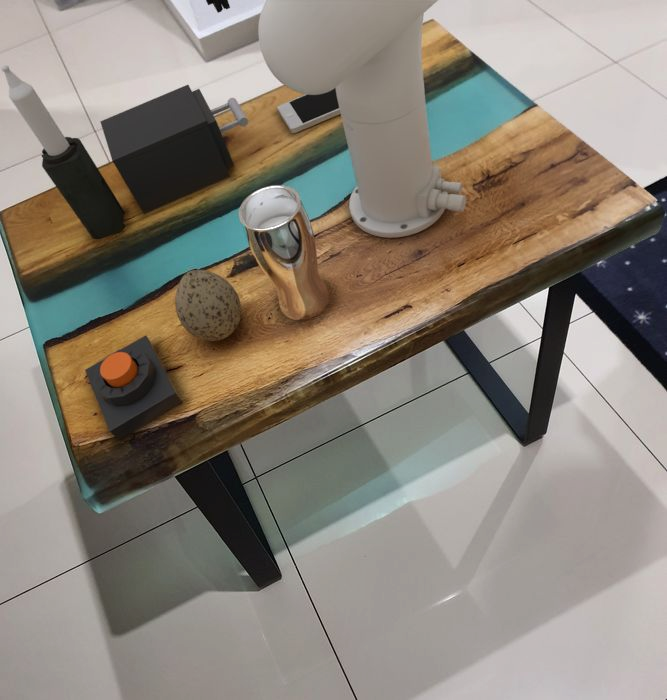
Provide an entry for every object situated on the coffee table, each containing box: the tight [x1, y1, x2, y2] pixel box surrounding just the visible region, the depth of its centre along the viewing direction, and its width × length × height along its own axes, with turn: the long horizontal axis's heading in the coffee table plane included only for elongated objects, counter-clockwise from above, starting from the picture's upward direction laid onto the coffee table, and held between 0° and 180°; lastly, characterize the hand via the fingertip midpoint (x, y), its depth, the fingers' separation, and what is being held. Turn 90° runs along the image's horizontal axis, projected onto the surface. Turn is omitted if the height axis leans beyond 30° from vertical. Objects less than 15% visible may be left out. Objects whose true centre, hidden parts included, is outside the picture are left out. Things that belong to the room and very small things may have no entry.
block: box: [84, 335, 184, 441], centre depth 73 cm, size 10×8×4 cm
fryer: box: [100, 84, 231, 215], centre depth 93 cm, size 14×11×10 cm
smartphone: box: [277, 88, 341, 134], centre depth 99 cm, size 7×15×1 cm, turn 111°
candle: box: [0, 63, 126, 240], centre depth 84 cm, size 5×5×25 cm
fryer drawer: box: [192, 88, 249, 170], centre depth 94 cm, size 17×9×8 cm, turn 112°
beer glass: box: [238, 184, 330, 321], centre depth 71 cm, size 7×7×15 cm
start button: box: [100, 352, 138, 388], centre depth 71 cm, size 4×4×2 cm
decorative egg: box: [174, 269, 242, 342], centre depth 73 cm, size 7×7×10 cm
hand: (221, 5), depth 78 cm, fingers closed
